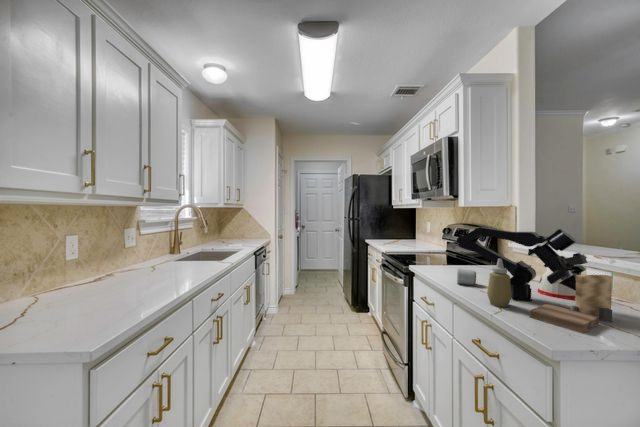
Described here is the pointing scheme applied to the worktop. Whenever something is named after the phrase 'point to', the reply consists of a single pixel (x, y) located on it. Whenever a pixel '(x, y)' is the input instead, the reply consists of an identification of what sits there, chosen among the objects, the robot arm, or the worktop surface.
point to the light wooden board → (592, 293)
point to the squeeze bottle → (499, 286)
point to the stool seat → (565, 318)
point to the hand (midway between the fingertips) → (587, 294)
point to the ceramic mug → (466, 277)
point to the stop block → (605, 314)
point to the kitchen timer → (555, 288)
